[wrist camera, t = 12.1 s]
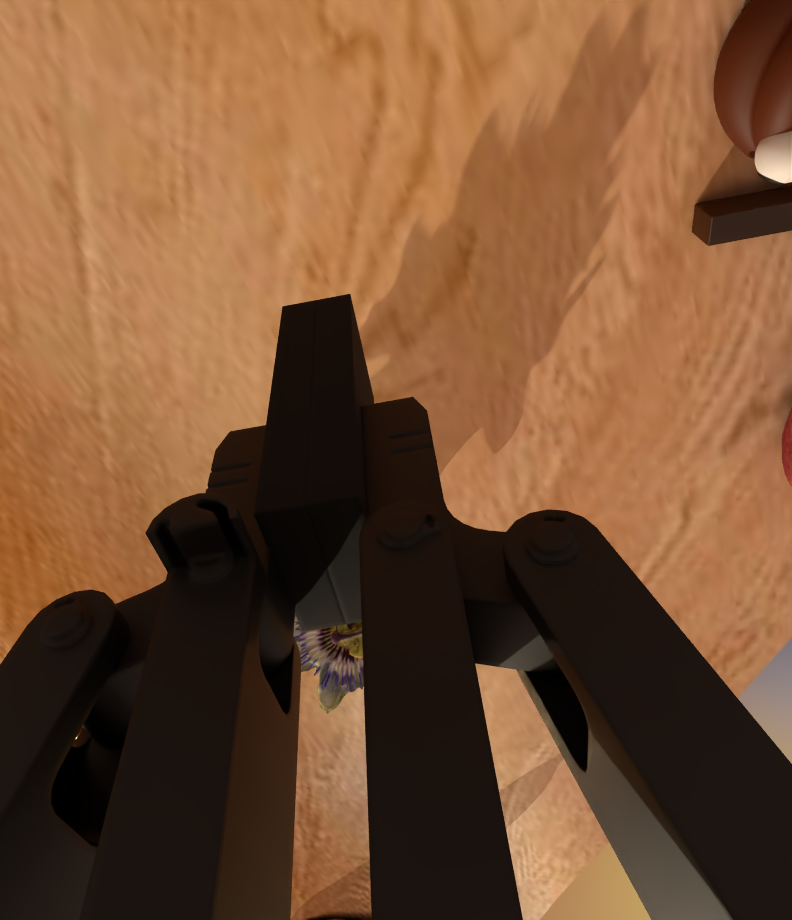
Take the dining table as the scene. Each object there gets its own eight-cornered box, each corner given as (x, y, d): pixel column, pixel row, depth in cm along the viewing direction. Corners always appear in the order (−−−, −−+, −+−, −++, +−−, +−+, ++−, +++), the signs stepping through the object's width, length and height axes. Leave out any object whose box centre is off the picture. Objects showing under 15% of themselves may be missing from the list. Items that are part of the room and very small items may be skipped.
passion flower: (354, 497, 52) (462, 589, 45) (323, 604, 57) (417, 702, 50) (227, 524, 45) (334, 640, 38) (203, 645, 49) (294, 768, 42)
